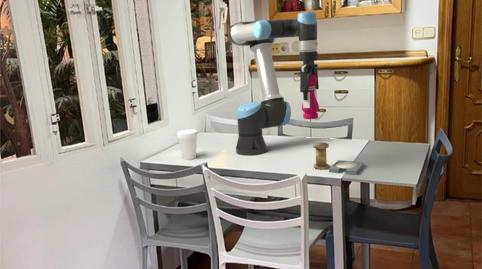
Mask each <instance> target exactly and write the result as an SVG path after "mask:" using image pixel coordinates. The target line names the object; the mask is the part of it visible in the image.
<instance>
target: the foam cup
mask: <svg viewBox="0 0 482 269" xmlns="http://www.w3.org/2000/svg"><path fill="white" fill-rule="evenodd" d="M176 137H177V140H178V144H179V149H180V154H181V157H182V160H184V161H190V160H194V159H196V158H197V142H198V141H197V140H198V139H197V137H198V131H197V129H183V130H178V131H177V132H176Z"/></svg>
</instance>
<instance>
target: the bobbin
mask: <svg viewBox="0 0 482 269" xmlns="http://www.w3.org/2000/svg"><path fill="white" fill-rule="evenodd" d="M312 147H313V148H314V149H315V163H314V164H313V169H314V168H315V170H317V169H320V170H319V171H323V169H325V170H329V168H330V164H328V162H327V149H328V148H329V143H327V142H315V143H313V144H312ZM321 169H322V170H321Z"/></svg>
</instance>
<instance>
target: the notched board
mask: <svg viewBox="0 0 482 269" xmlns="http://www.w3.org/2000/svg"><path fill="white" fill-rule="evenodd" d="M364 166H365V162H364V161H352V160H351V161H350V160H340V159H339V160H336V162H335V163H334V164H332V165H331V166H329V168H328V173H329V172H331V173H332V174H339V173H340V172H345V174H346V175H353V176H356V175H357V174H358V173H359V172H361V170H362V169H363V167H364ZM331 173H330V174H331Z"/></svg>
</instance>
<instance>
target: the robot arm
mask: <svg viewBox="0 0 482 269" xmlns="http://www.w3.org/2000/svg"><path fill="white" fill-rule="evenodd" d="M227 35H228V39H229V41H230V42H231V43H233V45H235V46H243V47H245V46H248V47H249V50H250V52H253V55H254V61H255V64H256V65H255V66H256V70H257V76H258V80H259V84H260V86H259V87H260V90H261V95H262V100H260V102H257V101H256V102H248V103H245V104H242V105H239V106H238V108H237V112H236V113H237V114H236V118H237V120H236V121H237V129H238V132H237V133H238V138H237V142H236V146H235V152H236V154H237V155H242V156H255V155H260V154H264V153H266V152H267V150H268V148H267V147H268V146H267V144H266V141H265V138H264V136H263V130H264V129H269V128H277V127H278V128H280V127H283V126H286V125H287V124H289V122H290V120H291V118H292V116H291V115H292V109H291V104H290V103H289V102H288V101H285V98H284V97H283V96H282V95H281V94H280V89H279V84H278V78H277V73H276V70H275V64H274V59H273V54H272V48H273V45H274V44H273V43H275V40H276V39H283V38H285V39H286V38H296V37H297V38H298V51H299V54H298V56H299V59H298V60H299V62H302V66H300V67H299V71H300V73H299V74H300V77H299V78H300V79H299V81H300V83H299V85H300V86H299V92H300V93H302V103H303V108H310V92H309V82H310V76H311V74H312V75H314V76H315V77H316V79H317V82H316V84H315V86H316V87H315V88H316V89H315V98H316V100H317V101H318V96H317V90H319V88H320V87H319V86H320V85H319V74H318V73H319V72H318V68H319V64H317V63H315V61H318V60H319V53H318V51H317V50H318V44H319V42H318V19H317V14H316V12H315V11H307V12H305V11H304V12H300V13H298V14H297V18H286V19H269V20H265V19H263V20H255V21H254V20H252V21H239V22H236V23H233V24H232V25H231V26H230V27H229V29H228V32H227Z"/></svg>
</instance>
